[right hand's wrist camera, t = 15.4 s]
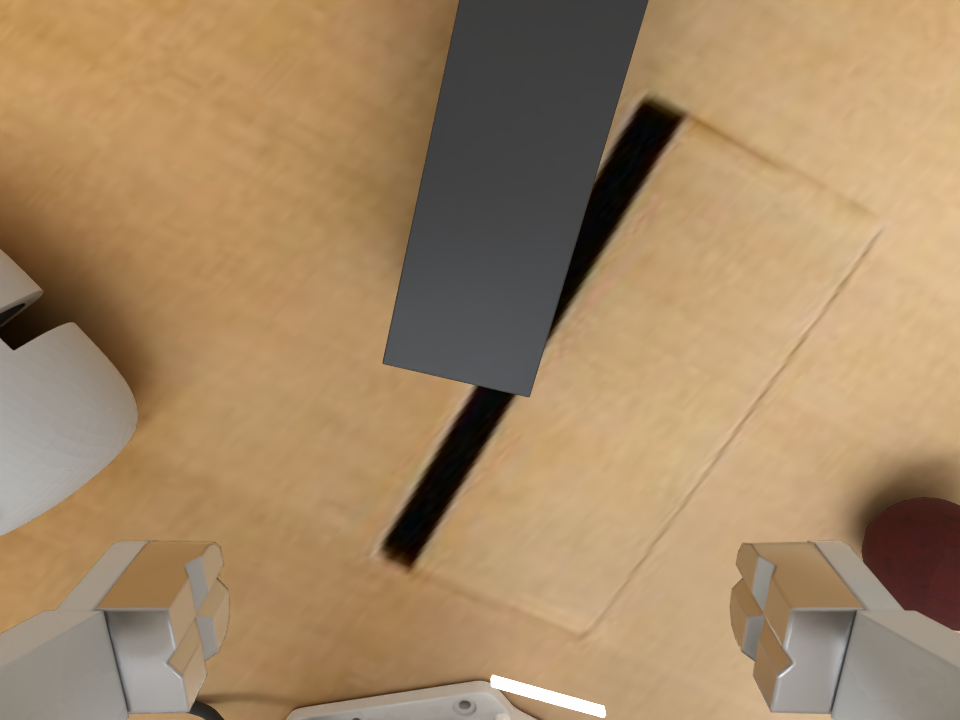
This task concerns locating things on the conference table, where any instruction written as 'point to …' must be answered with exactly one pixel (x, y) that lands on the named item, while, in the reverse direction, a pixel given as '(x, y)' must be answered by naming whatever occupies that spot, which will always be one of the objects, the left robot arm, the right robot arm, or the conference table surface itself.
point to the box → (507, 184)
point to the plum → (918, 557)
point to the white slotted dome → (53, 410)
